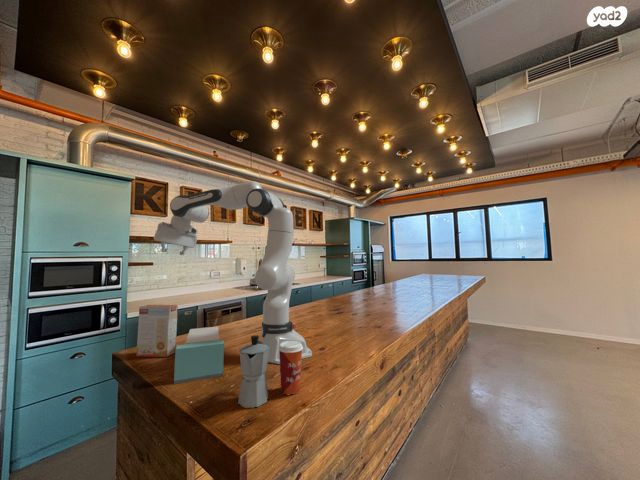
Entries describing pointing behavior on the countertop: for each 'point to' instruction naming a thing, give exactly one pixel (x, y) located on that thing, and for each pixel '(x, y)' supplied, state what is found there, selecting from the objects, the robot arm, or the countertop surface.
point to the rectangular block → (198, 361)
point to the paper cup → (290, 366)
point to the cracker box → (157, 330)
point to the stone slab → (202, 335)
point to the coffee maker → (253, 373)
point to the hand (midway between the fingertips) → (173, 253)
